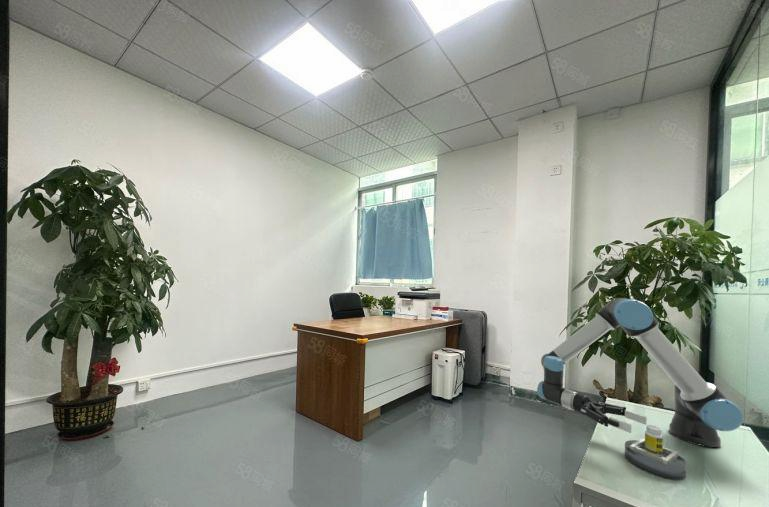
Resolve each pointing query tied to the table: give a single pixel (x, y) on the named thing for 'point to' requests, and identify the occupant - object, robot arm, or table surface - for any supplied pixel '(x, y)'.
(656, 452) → the supplement bottle
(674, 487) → the table surface
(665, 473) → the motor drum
